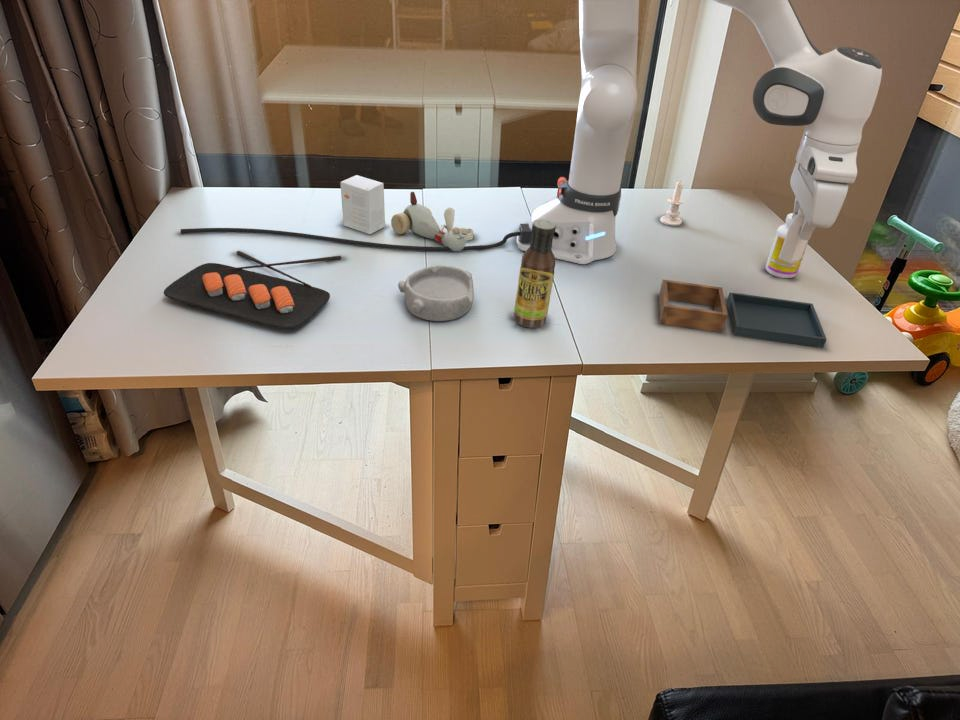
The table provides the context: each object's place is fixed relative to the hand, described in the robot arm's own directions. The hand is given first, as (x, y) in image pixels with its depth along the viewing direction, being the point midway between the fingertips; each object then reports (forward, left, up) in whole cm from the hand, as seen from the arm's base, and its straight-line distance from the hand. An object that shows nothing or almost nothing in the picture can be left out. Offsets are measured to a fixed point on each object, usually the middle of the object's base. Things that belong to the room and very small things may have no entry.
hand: (800, 230), depth 128 cm
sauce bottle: (-45, -12, -20) cm, 51 cm away
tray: (+1, 0, -20) cm, 20 cm away
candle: (-17, +43, -20) cm, 50 cm away
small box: (-87, +18, -20) cm, 91 cm away
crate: (-15, -1, -20) cm, 25 cm away
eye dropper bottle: (0, 0, -6) cm, 6 cm away
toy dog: (-71, +17, -20) cm, 76 cm away
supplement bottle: (+6, +23, -20) cm, 31 cm away
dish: (-63, -11, -20) cm, 67 cm away
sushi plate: (-96, -12, -20) cm, 99 cm away
